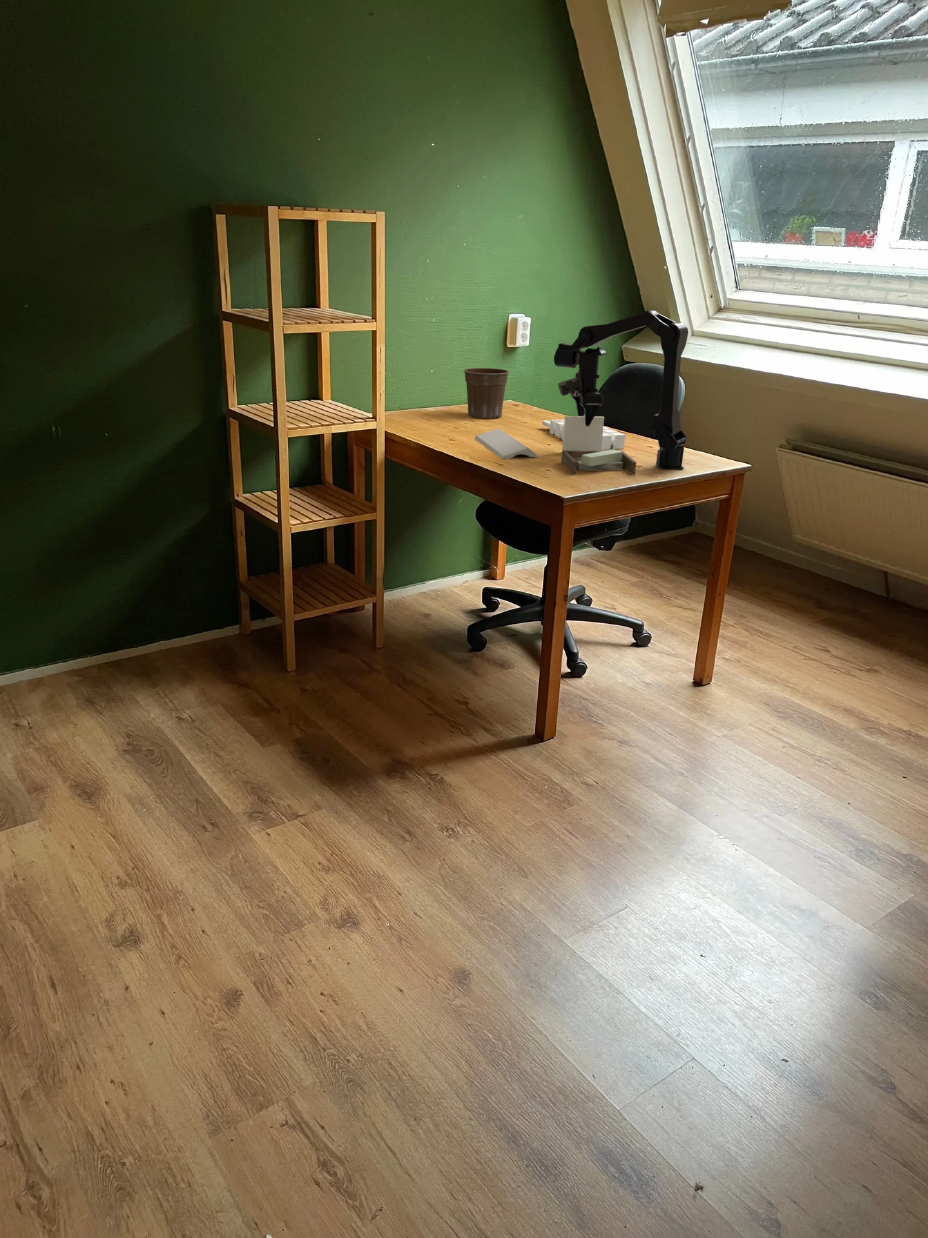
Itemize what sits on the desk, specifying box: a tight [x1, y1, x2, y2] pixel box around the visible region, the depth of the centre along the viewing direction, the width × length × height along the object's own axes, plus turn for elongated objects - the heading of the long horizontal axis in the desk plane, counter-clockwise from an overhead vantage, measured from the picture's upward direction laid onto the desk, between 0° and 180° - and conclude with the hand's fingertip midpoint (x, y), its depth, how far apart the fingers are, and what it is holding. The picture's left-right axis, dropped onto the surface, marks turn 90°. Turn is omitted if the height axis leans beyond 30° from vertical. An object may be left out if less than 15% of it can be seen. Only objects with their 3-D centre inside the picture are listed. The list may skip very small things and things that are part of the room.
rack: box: [561, 449, 637, 475], centre depth 258 cm, size 18×14×4 cm
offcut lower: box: [576, 461, 624, 472], centre depth 257 cm, size 13×4×2 cm, turn 101°
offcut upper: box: [581, 449, 624, 466], centre depth 257 cm, size 13×4×2 cm, turn 129°
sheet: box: [561, 415, 605, 451], centre depth 274 cm, size 12×1×11 cm, turn 96°
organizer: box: [541, 419, 626, 451], centre depth 296 cm, size 13×5×35 cm
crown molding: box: [474, 428, 541, 460], centre depth 279 cm, size 29×12×4 cm, turn 16°
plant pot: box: [463, 367, 510, 419], centre depth 324 cm, size 16×16×16 cm
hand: (583, 422), depth 273 cm, fingers open, 9 cm apart
